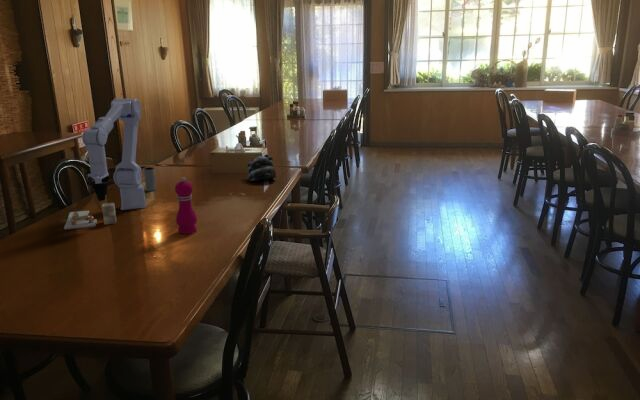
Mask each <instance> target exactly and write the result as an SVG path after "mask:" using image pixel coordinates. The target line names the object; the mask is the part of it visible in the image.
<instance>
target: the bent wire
mask: <svg viewBox="0 0 640 400" xmlns="http://www.w3.org/2000/svg"><path fill="white" fill-rule="evenodd" d="M73 212H74V213H73V216H72V218H71V224H72V225H75V224H77V222H76V220H82V219H85V220H89V223H93V222H94V218H95V217H94V216H93V215H88V216H80V217H79V216H78V213H77V212H78V211H73Z"/></svg>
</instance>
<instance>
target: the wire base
mask: <svg viewBox="0 0 640 400" xmlns="http://www.w3.org/2000/svg"><path fill="white" fill-rule="evenodd" d="M76 222H77V224H75V225H72V224H71V218H68V217H67V220H66V223H65V224H64V227H63V230H72V229H81V228H83V229H84V228H92V227H96V226H97V222H98V219H97V218H95V219H94V222H93V223H89V219H82V220H76Z"/></svg>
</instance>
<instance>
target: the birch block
mask: <svg viewBox="0 0 640 400" xmlns="http://www.w3.org/2000/svg"><path fill="white" fill-rule="evenodd" d="M115 206H116V205H115V202H105V203H102V205H101V210H102V216H103V223H104V225H115V224H117V213H116V207H115Z"/></svg>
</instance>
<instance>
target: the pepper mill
mask: <svg viewBox="0 0 640 400" xmlns="http://www.w3.org/2000/svg"><path fill="white" fill-rule="evenodd" d="M186 179H187V178H186V177H185V176H184V177H183V176H182V177H180V181H178V182H177V183H176V184H175V187H174V192H175V194H177V196H176V197H177V201H178V205H179V206H178V211H177V214H176V219H175V222H176V224H177V226H178V233H179V234H180V233H182V234H181V235H189V234H188V233H192V234H194V233H193V232H195V231H196V230H198V229H197V225H196V224H197V222H198V217H197V214H196V212H195V210H194V208H193V205H192V199H193V197H192V196H193V195H192V193H193V190H194V188H193V185H192V184H191V182H190V181H186ZM196 232H197V231H196ZM196 232H195V233H196Z"/></svg>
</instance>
